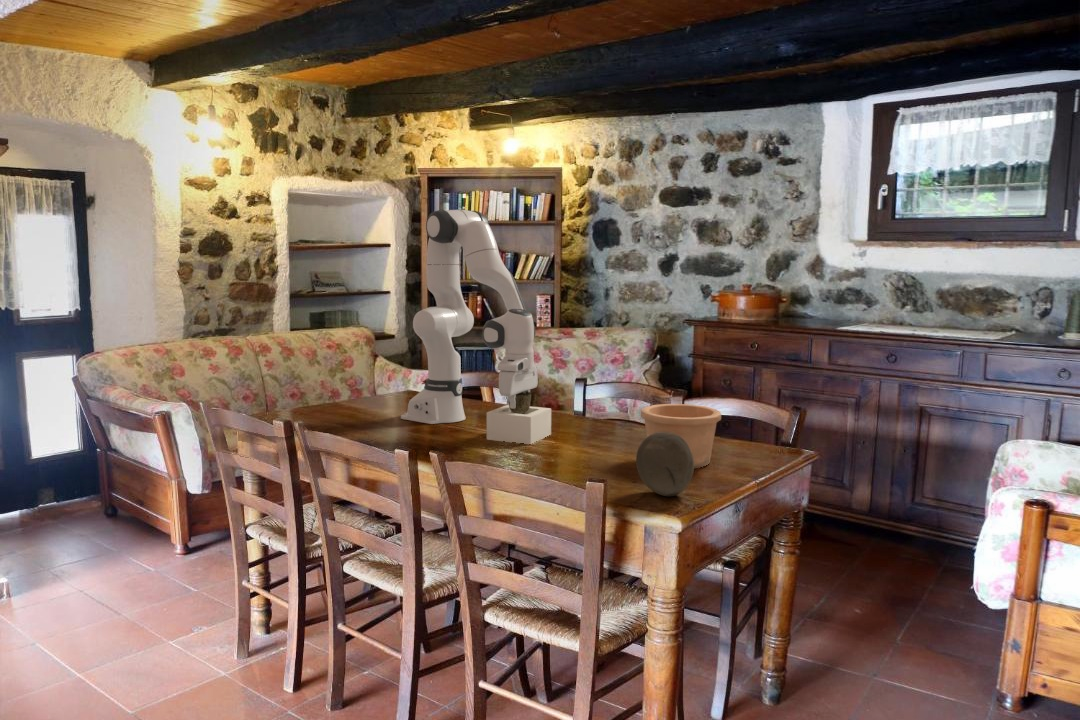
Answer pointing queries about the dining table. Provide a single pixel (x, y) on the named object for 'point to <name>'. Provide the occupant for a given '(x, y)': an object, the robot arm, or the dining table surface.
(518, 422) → the cream box
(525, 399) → the cup
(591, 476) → the dining table surface
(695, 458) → the pottery
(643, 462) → the dark round stone
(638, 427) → the dining table surface
